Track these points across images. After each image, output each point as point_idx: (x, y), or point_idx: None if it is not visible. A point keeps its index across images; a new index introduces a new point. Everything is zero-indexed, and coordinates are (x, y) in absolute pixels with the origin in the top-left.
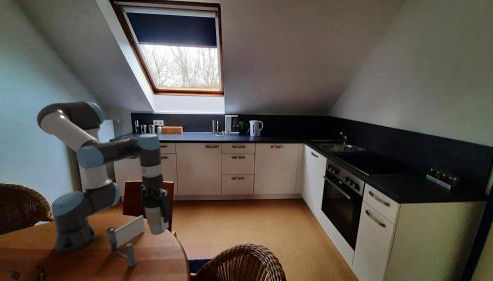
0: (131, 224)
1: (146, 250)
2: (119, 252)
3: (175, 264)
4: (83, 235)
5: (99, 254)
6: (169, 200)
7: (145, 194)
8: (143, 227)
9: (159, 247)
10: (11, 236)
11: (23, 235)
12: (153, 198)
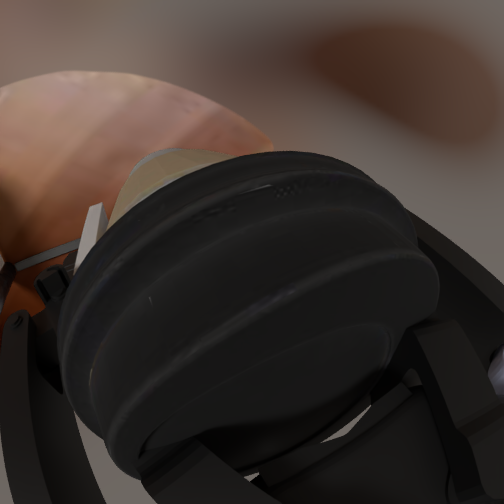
0: None
1: (72, 183)
2: (28, 261)
3: (221, 140)
4: None
5: (8, 302)
6: (479, 265)
7: (74, 484)
8: None
9: (93, 137)
10: None
11: None
12: (302, 421)
